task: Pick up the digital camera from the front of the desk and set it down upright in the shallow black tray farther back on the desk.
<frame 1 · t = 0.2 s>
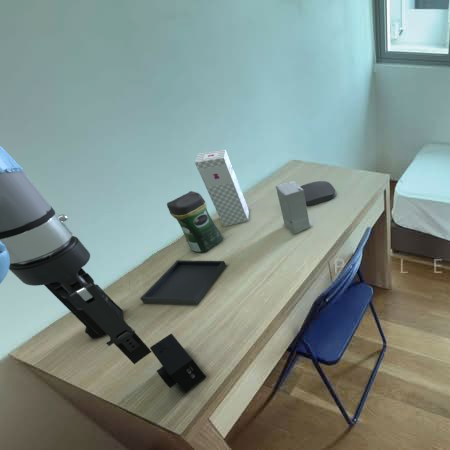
hand: (124, 339, 56), 16 cm above the table, tool pointing down, fingers open, 13 cm apart
box: (236, 218, 117), on the table
media streaming box: (316, 195, 129), on the table
portable radio: (109, 326, 78), on the table
coffee jar: (207, 244, 104), on the table
cosmetic box: (298, 226, 111), on the table
shallow black tray: (187, 283, 89), on the table
digital camera: (182, 373, 67), on the table
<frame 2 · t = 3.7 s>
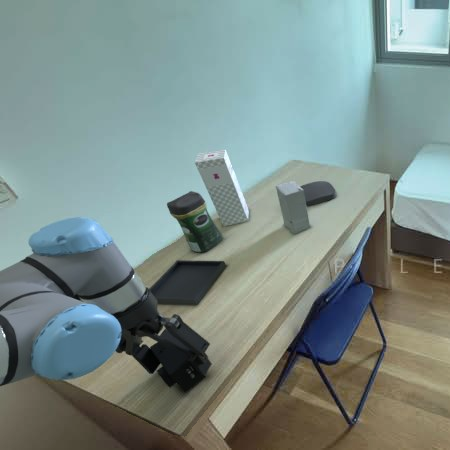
hand: (181, 368, 66), 2 cm above the table, tool pointing down, fingers closed on digital camera, 11 cm apart
digital camera: (182, 373, 67), on the table, touching gripper
everything else where it was.
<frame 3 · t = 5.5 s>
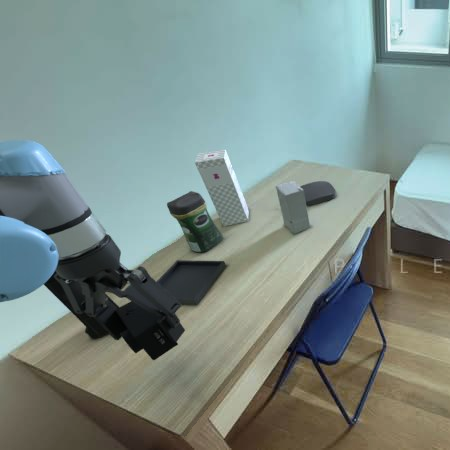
hand: (150, 335, 59), 13 cm above the table, tool pointing down, fingers closed on digital camera, 11 cm apart
digital camera: (152, 341, 60), point 12 cm above the table, touching gripper
everything else where it was.
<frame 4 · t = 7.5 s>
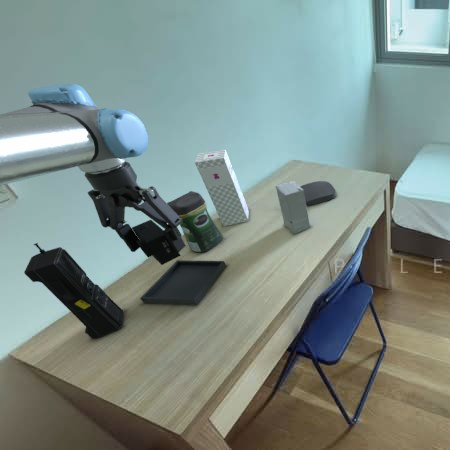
hand: (159, 248, 76), 16 cm above the table, tool pointing down, fingers closed on digital camera, 11 cm apart
digital camera: (160, 254, 77), point 15 cm above the table, touching gripper
everything else where it was.
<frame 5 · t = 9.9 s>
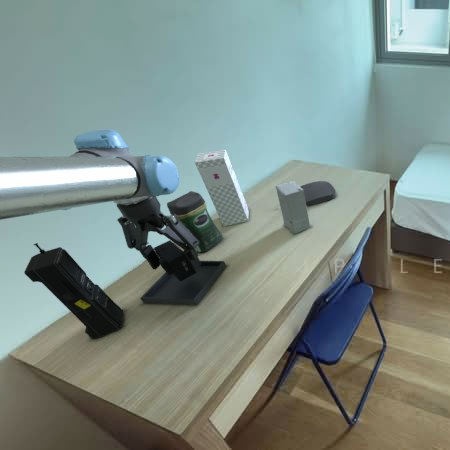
hand: (177, 266, 85), 7 cm above the table, tool pointing down, fingers closed on digital camera, 11 cm apart
digital camera: (178, 271, 86), point 5 cm above the table, touching gripper
everything else where it was.
when the fingers open (2 cm above the table, at t = 11.7 s): digital camera stays where it is, resting on shallow black tray.
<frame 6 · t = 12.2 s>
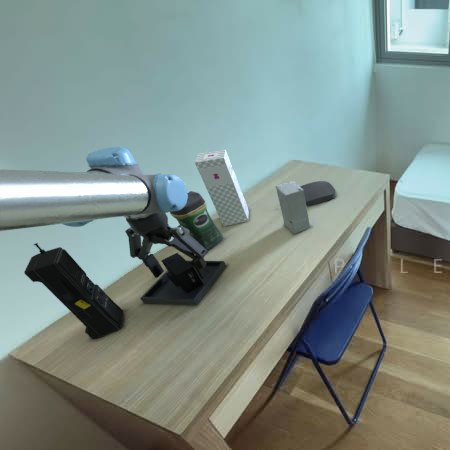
hand: (182, 275, 87), 4 cm above the table, tool pointing down, fingers open, 13 cm apart
digital camera: (185, 282, 89), resting on shallow black tray
everything else where it was.
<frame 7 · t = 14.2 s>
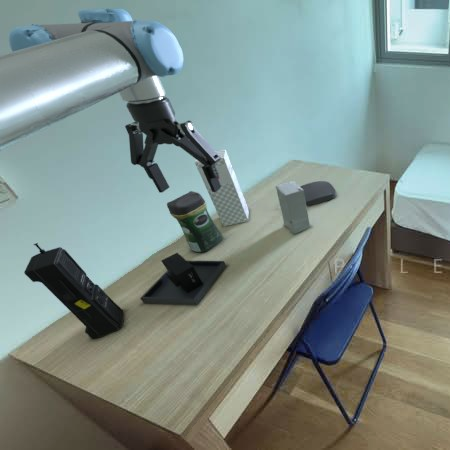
hand: (190, 189, 76), 28 cm above the table, tool pointing down, fingers open, 13 cm apart
nothing on the table moved.
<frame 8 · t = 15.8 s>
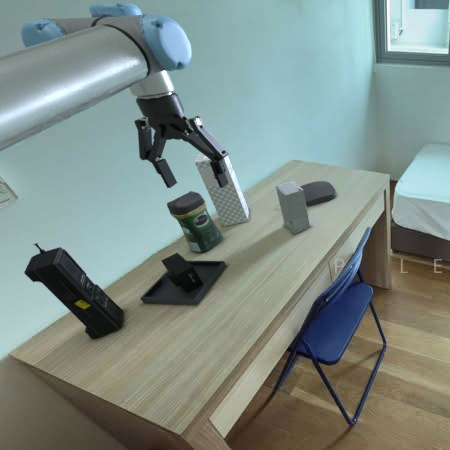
hand: (198, 185, 76), 29 cm above the table, tool pointing down, fingers open, 13 cm apart
nothing on the table moved.
at the end: digital camera inside the target area in the shallow black tray (0.5 cm from its centre), point 0.4 cm above the shallow black tray's base; digital camera tilted 0°; the gripper is holding nothing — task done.
